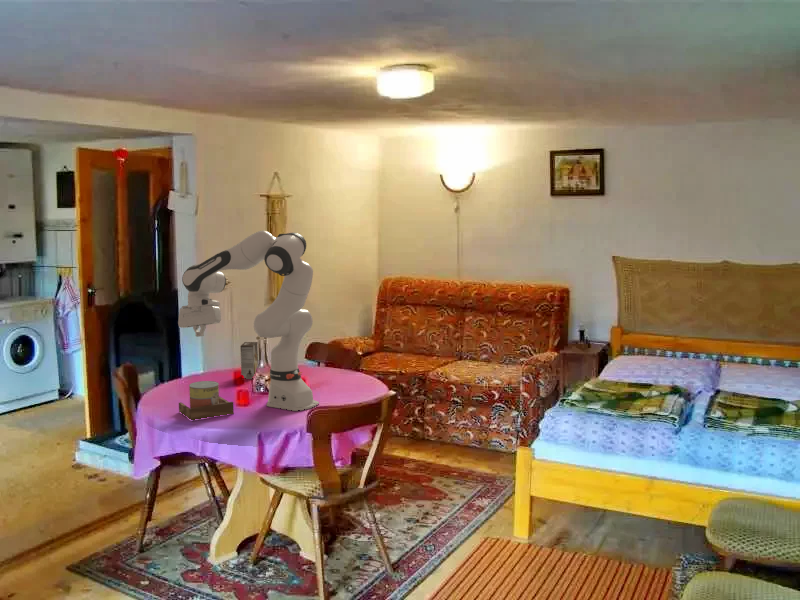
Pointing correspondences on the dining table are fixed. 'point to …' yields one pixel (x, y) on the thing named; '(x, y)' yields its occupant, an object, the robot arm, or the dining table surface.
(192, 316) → the robot arm
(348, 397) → the dining table surface
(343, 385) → the dining table surface
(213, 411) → the box
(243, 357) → the coffee box
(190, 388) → the canned food
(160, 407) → the dining table surface
